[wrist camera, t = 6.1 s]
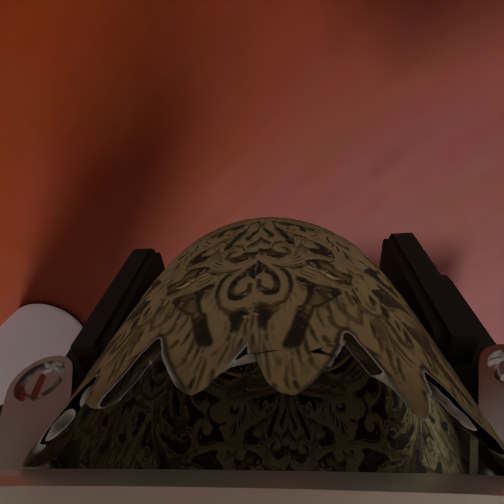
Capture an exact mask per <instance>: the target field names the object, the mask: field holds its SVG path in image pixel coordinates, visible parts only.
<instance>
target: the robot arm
mask: <svg viewBox="0 0 504 504" xmlns="http://www.w3.org/2000/svg"><path fill="white" fill-rule="evenodd" d="M164 270H165V267H164V264H163V260H162V257H161V255H160V253H155V251H154V249H152V248H150V249H135V250H133V251H132V253H131V254H130V256H129V257H128V259H127V260H126V262H125V263H124V265H123V267H122V268H121V270H120V271H119V273H118V274H117V276H116V277H115V279H114V280H113V282H112V283H111V285H110V286H109V288H108V289H107V291H106V293H105V294H104V296H103V297H102V299H101V300H100V302H99V303H98V305H97V306H96V308H95V309H94V311H93V312H92V314H91V315H90V317H89V319H88V320H87V322H86V323H85V325H84V326H83V328H82V329H81V331H80V332H79V334H78V335H77V337H76V338H75V340H74V341H73V343H72V345H71V346H70V347H71V348H70V350H69V351H68V353H67V354H66V356H65V357H64V356H50V357H46V358H43V359H40V360H38V361H36V362H34V363H32V364H31V365H29V366H28V367H26V368H25V369H23V370H22V371H21V372H20V373H19V374H18V375H17V376H16V377H15V378H14V380H13V381H12V382H11V383H10V385H9V388H8V390H7V392H6V396H5V400H4V404H2V405H0V504H504V470H503V469H504V466H503V465H502V464H501V463H500V462H499V461H498V460H497V459H496V458H495V459H496V460H497V462H498V463H499V465H498V464H497V463H496V461H495V460H494V458H493V457H492V455H491V454H490V453H489V451H488V450H487V448H486V447H485V445H484V444H482V443H481V442H480V441H478V440H477V439H476V438H474V437H473V436H472V435H470V469H469V475H464V474H431V473H377V472H324V471H256V470H177V469H79V459H80V440H78V439H75V440H71V441H68V442H67V444H66V445H65V447H64V448H63V450H62V451H61V453H60V454H59V456H58V457H57V459H55V460H54V459H53V460H52V463H51V464H50V463H48V464H46V465H45V466H40V467H23V461H24V459H25V458H26V456H27V454H28V453H29V451H30V450H31V449H32V448H33V446H34V445H35V444H36V443H37V441H38V440H39V439H40V438H41V436H42V435H43V434H44V433H45V431H46V430H47V429H48V428H49V426H50V425H51V424H52V423H53V421H54V420H55V419H56V418H57V416H58V415H59V414H60V412H61V411H62V409H63V408H64V407H65V405H66V404H67V403H68V401H69V400H70V398H71V397H72V396H73V394H74V393H75V391H76V390H77V388H78V387H79V385H80V384H81V383H82V381H83V380H84V378H85V377H86V375H87V374H88V372H89V371H90V370H91V368H92V367H93V365H94V364H95V362H96V361H97V360H98V358H99V357H100V355H101V354H102V352H103V351H104V350H105V348H106V347H107V345H108V344H109V343H110V341H111V340H112V338H113V337H114V335H115V334H116V333H117V331H118V330H119V328H120V327H121V326H122V324H123V323H124V322H125V320H126V319H127V317H128V316H129V315H130V313H131V312H132V310H133V309H134V308H135V306H136V305H137V304H138V302H139V301H140V300H141V298H142V297H143V295H144V294H145V293H146V291H147V290H148V289H149V288H150V286H151V285H152V284H153V283H154V281H155V280H156V279H157V278H158V277H159V275H160V274H161V273H162V272H163V271H164ZM380 270H381V271H382V272H383V274H384V275H385V276H386V277H387V278H388V279H389V280H390V282H391V283H392V284H393V285H394V286H395V288H396V289H397V290H398V292H399V293H400V294H401V296H402V297H403V298H404V300H405V301H406V302H407V304H408V305H409V307H410V308H411V309H412V311H413V312H414V314H415V315H416V317H417V318H418V319H419V321H420V322H421V324H422V325H423V327H424V328H425V329H426V331H427V332H428V334H429V335H430V337H431V338H432V340H433V341H434V342H435V344H436V345H437V347H438V348H439V350H440V351H441V353H442V354H443V356H444V357H445V358H446V360H447V361H448V363H449V364H450V366H451V367H452V369H453V370H454V372H455V373H456V375H457V376H458V378H459V379H460V381H461V382H462V384H463V385H464V387H465V388H466V390H467V391H468V393H469V394H470V395H471V397H472V398H473V400H474V401H475V403H476V404H477V406H478V407H479V409H480V410H481V412H482V413H483V415H484V416H485V418H486V419H487V421H488V422H489V423H490V425H491V426H492V428H493V429H494V431H495V432H496V433H497V435H498V436H499V438H500V439H501V440H502V442H503V443H504V344H498V345H496V343H495V342H494V341H493V339H492V338H491V336H490V335H489V333H488V332H487V331H486V329H485V328H484V326H483V325H482V323H481V322H480V321H479V319H478V318H477V316H476V315H475V313H474V312H473V311H472V309H471V308H470V306H469V305H468V304H467V302H466V301H465V299H464V298H463V296H462V295H461V294H460V292H459V291H458V289H457V288H456V286H455V285H454V284H453V282H452V281H451V279H450V278H449V277H448V276H446V275H440V273H439V272H438V270H437V269H436V267H435V266H434V264H433V263H432V261H431V260H430V258H429V257H428V255H427V254H426V252H425V251H424V249H423V248H422V246H421V245H420V243H419V242H418V241H417V239H416V238H415V236H414V235H413V234H412V233H398V234H391V235H390V237H389V239H384V240H383V244H382V252H381V260H380ZM471 422H472V424H473V425H474V426H475V427H476V429H477V432H478V433H479V435H480V436H481V438H482V439H483V441H484V442H485V443H486V445H487V446H488V448H490V449H491V450H493V451H494V452H496V453H498V454H501V455H503V454H504V450H503V449H502V447H501V446H500V444H499V443H498V442H497V441H496V440H495V439H494V438H493V437H492V436H491V435H490V434H489V433H488V432H487V431H486V430H485V429H484V428H483V427H482V426H480V425H479V424H478V423H477V422H476V421H475V420H474V419H473V418H472V417H471Z"/></svg>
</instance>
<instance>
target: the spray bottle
mask: <svg viewBox="0 0 504 504" xmlns="http://www.w3.org/2000/svg"><path fill="white" fill-rule="evenodd" d="M82 328H83V327H82V325H81V324H80V323H79V322H78V321H77V320H76V319H75V318H74V317H73V316H72V315H70V314H69V313H67V312H65V311H64V310H62V309H59V308H57V307H54V306H51V305H47V304H29V305H26V306H23V307H21V308H19V309H18V310H17V311H16V312H14V313H13V314H12V315H11V316H10V317H9V318H8V319H7V320H6V321H5V322H4V323H3V324H2V325H1V326H0V405H2V404H4V400H5V396H6V392H7V390H8V388H9V385H10V383H11V382H12V381H13V380H14V378H15V377H16V376H17V375H18V374H19V373H20V372H21V371H22V370H23V369H25V368H26V367H28V366H29V365H31V364H32V363H34V362H36V361H38V360H40V359H43V358H46V357H50V356H64V357H65V356H66V354H67V353H68V351H69V350H70V348H71V347H70V346H71V345H72V343H73V341H74V340H75V338H76V337H77V335H78V334H79V332H80V331H81V329H82Z"/></svg>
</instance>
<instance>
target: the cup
mask: <svg viewBox="0 0 504 504" xmlns="http://www.w3.org/2000/svg"><path fill="white" fill-rule="evenodd" d="M471 417H472V418H473V419H474V420H475V421H476V422H477V423H478V424H479V425H480V426H482V427H483V428H484V429H485V430H486V431H487V432H488V433H489V434H490V435H491V436H492V437H493V438H494V439H495V440H496V441H497V442H498V443H499V444H500V446H501V447H502V449H503V450H504V443H503V442H502V440H501V439H500V438H499V436H498V435H497V433H496V432H495V431H494V429H493V428H492V426H491V425H490V423H489V422H488V421H487V419H486V418H485V416H484V415H483V413H482V412H481V410H480V409H479V407H478V406H477V404H476V403H475V401H474V400H473V398H472V397H471V395H470V394H469V393H468V391H467V390H466V388H465V387H464V385H463V384H462V382H461V381H460V379H459V378H458V376H457V375H456V373H455V372H454V370H453V369H452V367H451V366H450V364H449V363H448V361H447V360H446V358H445V357H444V356H443V354H442V353H441V351H440V350H439V348H438V347H437V345H436V344H435V342H434V341H433V340H432V338H431V337H430V335H429V334H428V332H427V331H426V329H425V328H424V327H423V325H422V324H421V322H420V321H419V319H418V318H417V317H416V315H415V314H414V312H413V311H412V309H411V308H410V307H409V305H408V304H407V302H406V301H405V300H404V298H403V297H402V296H401V294H400V293H399V292H398V290H397V289H396V288H395V286H394V285H393V284H392V283H391V282H390V280H389V279H388V278H387V277H386V276H385V275H384V274H383V272H382V271H381V270H380V269H379V268H378V267H377V266H376V264H375V263H374V262H373V261H372V260H371V259H370V258H368V257H367V256H366V255H365V254H364V253H363V252H362V251H360V250H359V249H358V248H357V247H356V246H355V245H353V244H352V243H350V242H349V241H347V240H346V239H344V238H343V237H341V236H339V235H337V234H335V233H333V232H331V231H329V230H327V229H325V228H322V227H320V226H317V225H315V224H312V223H308V222H304V221H300V220H295V219H288V218H275V217H269V218H255V219H248V220H243V221H239V222H235V223H232V224H229V225H226V226H224V227H221V228H219V229H217V230H214V231H212V232H210V233H208V234H206V235H204V236H203V237H201V238H200V239H198V240H197V241H195V242H194V243H192V244H191V245H190V246H189V247H188V248H186V249H185V250H184V251H183V252H182V253H181V254H179V255H178V256H177V257H176V258H175V259H174V260H173V261H172V262H171V263H170V264H169V265H168V267H167V268H166V269H165V270H164V271H163V272H162V273H161V274H160V275H159V277H158V278H157V279H156V280H155V281H154V283H153V284H152V285H151V286H150V288H149V289H148V290H147V291H146V293H145V294H144V295H143V297H142V298H141V300H140V301H139V302H138V304H137V305H136V306H135V308H134V309H133V310H132V312H131V313H130V315H129V316H128V317H127V319H126V320H125V322H124V323H123V324H122V326H121V327H120V328H119V330H118V331H117V333H116V334H115V335H114V337H113V338H112V340H111V341H110V343H109V344H108V345H107V347H106V348H105V350H104V351H103V352H102V354H101V355H100V357H99V358H98V360H97V361H96V362H95V364H94V365H93V367H92V368H91V370H90V371H89V372H88V374H87V375H86V377H85V378H84V380H83V381H82V383H81V384H80V385H79V387H78V388H77V390H76V391H75V393H74V394H73V396H72V397H71V398H70V400H69V401H68V403H67V404H66V405H65V407H64V408H63V409H62V411H61V412H60V414H59V415H58V416H57V418H56V419H55V420H54V421H53V423H52V424H51V425H50V426H49V428H48V429H47V430H46V431H45V433H44V434H43V435H42V436H41V438H40V439H39V440H38V441H37V443H36V444H35V445H34V446H33V448H32V449H31V450H30V451H29V453H28V454H27V456H26V458H25V459H24V461H23V467H40V466H45V465H46V464H48V463H50V464H51V463H52V460H53V459H54V460H55V459H57V457H58V456H59V454H60V453H61V451H62V450H63V448H64V447H65V445H66V444H67V442H68V441H71V440H75V439H78V440H80V459H79V469H177V470H256V471H324V472H377V473H431V474H464V475H469V469H470V435H472V436H473V437H474V438H476V439H477V440H478V441H480V442H481V443H482V444H484V445H485V447H486V448H487V450H488V451H489V453H490V454H491V455H492V457H493V458H494V460H495V461H496V463H497V464H498V465H499V463H498V462H497V460H498V461H499V462H500V463H501V464H502V465H503V466H504V454H503V455H501V454H498V453H496V452H494V451H493V450H491V449H490V448H488V446H487V445H486V443H485V442H484V441H483V439H482V438H481V436H480V435H479V433H478V432H477V429H476V427H475V426H474V425H473V424H472V422H471ZM495 458H496V459H497V460H496V459H495ZM503 470H504V469H503Z"/></svg>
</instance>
